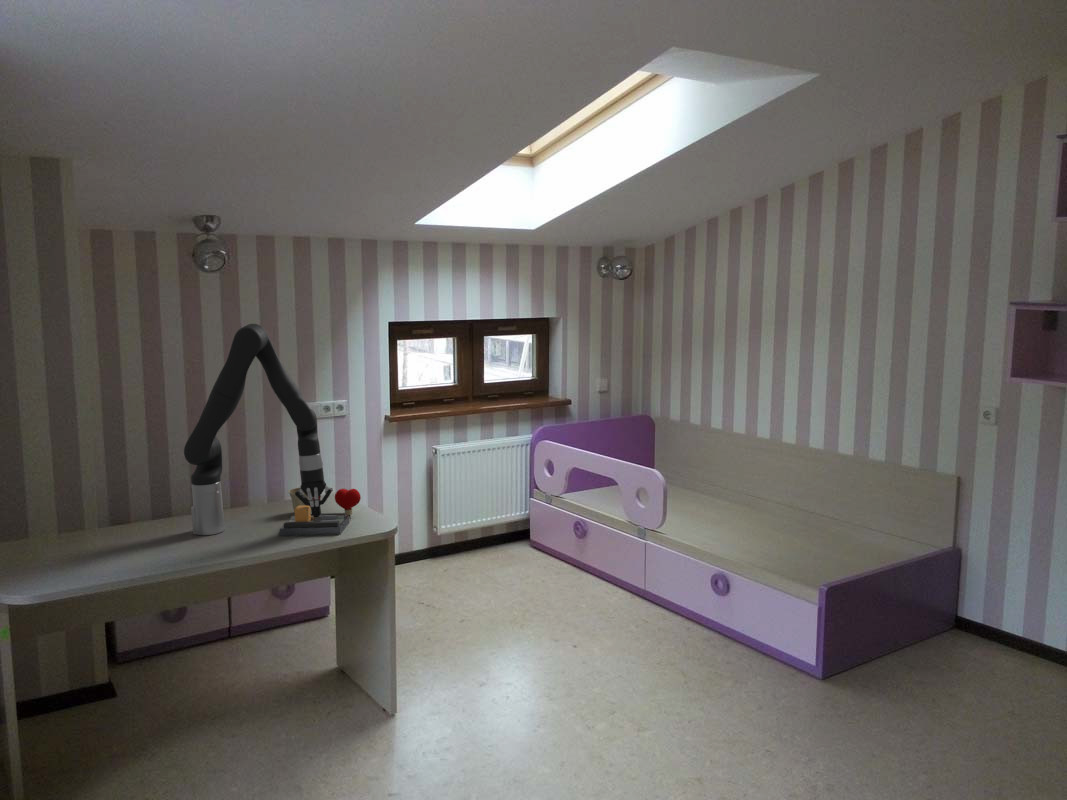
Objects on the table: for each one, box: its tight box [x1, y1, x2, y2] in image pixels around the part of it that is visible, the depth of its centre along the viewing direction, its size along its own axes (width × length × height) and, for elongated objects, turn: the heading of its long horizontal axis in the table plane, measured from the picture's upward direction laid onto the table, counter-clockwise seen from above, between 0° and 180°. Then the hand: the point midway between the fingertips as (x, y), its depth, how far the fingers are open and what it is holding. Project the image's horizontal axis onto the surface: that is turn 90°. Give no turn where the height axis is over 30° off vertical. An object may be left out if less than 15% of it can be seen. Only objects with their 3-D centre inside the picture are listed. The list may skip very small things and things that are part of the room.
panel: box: [279, 515, 350, 537], centre depth 277 cm, size 20×14×4 cm
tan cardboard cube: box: [293, 506, 312, 521], centre depth 277 cm, size 4×5×5 cm
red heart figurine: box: [334, 488, 362, 517], centre depth 292 cm, size 9×7×10 cm
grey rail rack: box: [283, 512, 347, 528], centre depth 277 cm, size 18×12×1 cm, turn 90°
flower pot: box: [287, 487, 312, 514], centre depth 298 cm, size 9×9×9 cm
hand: (316, 516), depth 277 cm, fingers closed
